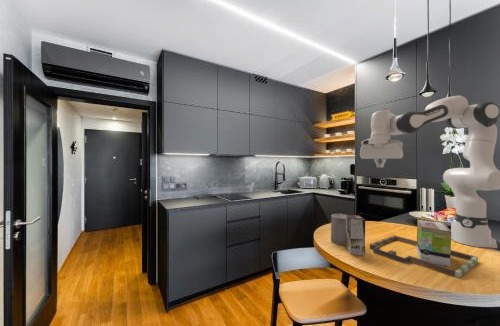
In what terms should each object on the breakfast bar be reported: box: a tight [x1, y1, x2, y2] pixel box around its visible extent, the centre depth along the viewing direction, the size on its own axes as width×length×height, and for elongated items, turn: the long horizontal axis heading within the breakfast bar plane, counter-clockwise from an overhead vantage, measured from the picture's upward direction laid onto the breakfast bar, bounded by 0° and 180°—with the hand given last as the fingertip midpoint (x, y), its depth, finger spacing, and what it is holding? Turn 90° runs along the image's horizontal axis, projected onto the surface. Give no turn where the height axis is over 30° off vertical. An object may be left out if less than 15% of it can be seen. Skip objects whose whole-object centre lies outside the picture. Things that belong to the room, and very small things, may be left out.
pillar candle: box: [330, 212, 347, 246], centre depth 115 cm, size 10×10×15 cm
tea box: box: [416, 219, 452, 268], centre depth 96 cm, size 15×10×15 cm
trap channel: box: [369, 234, 479, 279], centre depth 98 cm, size 28×32×2 cm
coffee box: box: [345, 214, 366, 256], centre depth 103 cm, size 9×6×16 cm
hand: (380, 167), depth 114 cm, fingers closed
